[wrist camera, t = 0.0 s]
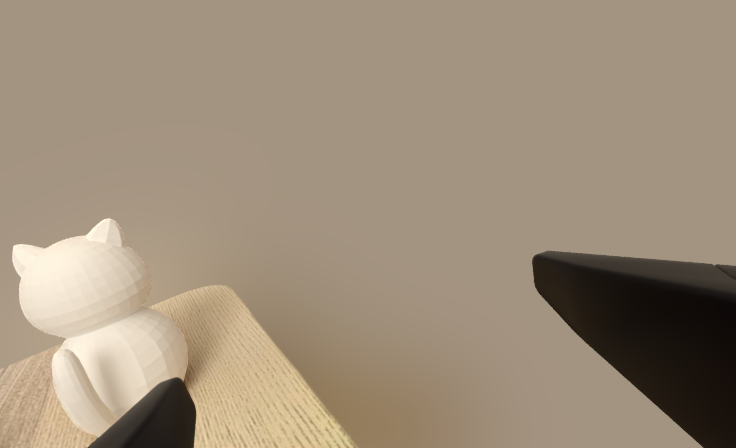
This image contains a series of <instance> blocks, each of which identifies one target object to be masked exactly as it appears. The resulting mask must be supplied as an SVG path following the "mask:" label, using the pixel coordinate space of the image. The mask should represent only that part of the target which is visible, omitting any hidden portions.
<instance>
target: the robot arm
mask: <svg viewBox="0 0 736 448" xmlns="http://www.w3.org/2000/svg"><path fill="white" fill-rule="evenodd" d="M532 265H533V274H534V283H535V287H536V289H537V291H538V292H539V294H540V295H541V296H542V297H543V298H544V299H545V300H546V301H547V302H548V304H549V305H550V306H551V307H552V308H553V309H554V310H555V311H556V312H557V313H558V314H559V315H560V317H561V318H562V319H563V320H564V321H565V322H566V323H567V324H568V325H569V326H570V327H571V328H572V330H573V331H574V332H576V333H577V335H579V337H581V338H582V339H583V340H584V341H585V342H586V343H587V344H588V345H589V346H590V347H592V348H593V349H594V350H595V351H596V352H597V353H598V354H599V355H601V356H602V357H603V358H604V359H605V360H606V361H607V362H608V363H609V364H611V365H612V366H613V367H614V368H615V369H616V370H617V371H618V372H620V373H621V374H622V375H623V376H624V377H625V378H626V379H627V380H628V381H630V382H631V383H632V384H633V385H634V386H635V387H636V388H637V389H638V390H640V391H641V392H642V393H643V394H644V395H645V396H646V397H647V398H649V399H650V400H651V401H652V402H653V403H654V404H655V405H656V406H658V407H659V408H660V409H661V410H662V411H663V412H664V413H665V414H667V415H668V416H669V417H670V418H671V419H672V420H673V421H674V422H675V423H677V424H678V425H679V426H680V427H681V428H682V429H683V430H684V431H686V432H687V433H688V434H689V435H690V436H691V437H692V438H693V439H695V440H696V441H697V442H698V443H699V444H700V445H701V446H702V447H703V448H736V266H729V265H715V266H714V265H712V264H705V263H692V262H679V261H668V260H656V259H643V258H631V257H619V256H607V255H594V254H582V253H570V252H556V251H546V252H543V253H540V254H537V255H535V256H534V257H533V260H532ZM195 424H196V408H195V405H194V402H193V400H192V398H191V396H190V394H189V392H188V390H187V388H186V386H185V384H184V382H183V381H182V379H181V378H179V377H174V378H171V379H168V380H166V381H163V382H160V383H159V384H157V385H156V386H155V387H154V388H153V389H152V390H151V391H150V392H148V393H147V394H146V395H145V396H144V397H143V398H142V399H141V400H140V401H138V402H137V403H136V404H135V405H134V406H133V407H132V408H131V409H130V410H129V411H127V412H126V413H125V414H124V415H123V416H122V417H121V418H120V419H119V420H117V421H116V422H115V423H114V424H113V425H112V426H111V427H110V428H109V429H108V430H106V431H105V432H104V433H103V434H102V435H101V436H100V437H99V438H98V439H96V440H95V441H94V442H93V443H92V444H91V445H90V446H89V447H88V448H194V437H195Z"/></svg>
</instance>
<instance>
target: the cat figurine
mask: <svg viewBox="0 0 736 448" xmlns="http://www.w3.org/2000/svg"><path fill="white" fill-rule="evenodd" d="M12 260H13V264H14V267H15V269H16V272H17V273H18V274H19V275H20V277H21V281H20V285H19V300H20V306H21V309H22V311H23V313H24V316H25V317H26V318H27V320H29V322H30V323H31V324H32V325H33V326H34V327H35V328H37V329H39V330H41V331H43V332H45V333H47V334H51V335H55V336H59V337H64V338H66V340H65V341H64V343H63V344H62V346H61V347H60V349H59V350H58V351H57V352H56V353H55V354H54V357H53V359H52V372H53V377H52V378H53V384H54V390H55V393H56V395H57V397H58V399H59V402H60V404H61V406H62V407H63V409H64V410H65V412H66V414H67V415H68V417H69V418H70V420H71V421H72V422H73V424H75V425H76V426H77V427H78V428H79V429H81V430H82V431H83V432H86V433H89V434H93V435H95V436H96V437H98V438H99V437H100V436H101V435H102V434H103V433H104V432H105V431H106V430H108V429H109V428H110V427H111V426H112V425H113V424H114V423H115V422H116V421H117V420H119V419H120V418H121V417H122V416H123V415H124V414H125V413H126V412H127V411H129V410H130V409H131V408H132V407H133V406H134V405H135V404H136V403H137V402H138V401H140V400H141V399H142V398H143V397H144V396H145V395H146V394H147V393H148V392H150V391H151V390H152V389H153V388H154V387H155V386H156V385H157V384H159V383H160V382H163V381H166V380H168V379H171V378H174V377H179V378H181V379H182V381H183V382H184V378H185V374H186V370H187V366H188V345H187V342H186V340H185V337H184V335H183V333H182V331H181V330H180V329H179V327H178V326H177V325H176V323H174V322H173V321H172V320H171V319H170V318H169V317H167V316H165V315H164V314H162V313H160V312H158V311H156V310H153V309H150V308H147V307H142V306H143V304H144V303H145V301H146V300H147V298H148V295H149V293H150V290H151V275H150V273H149V270H148V268H147V266H146V264H145V263H144V262H143V260H142V259H141V258H140V256H139V255H138V254H137V253H136V252H135V251H134V250H132V249H131V248H130V247H129V246H127V244H126V238H125V236H124V233H123V231H122V229H121V228H120V226H119V225H118V224H117V222H116V221H115V220H113V219H111V218H108V219H104V220H102V221H101V222H100V223H99V224H97V225H96V226H95V227H94V228H93V229H92V230H91V231H90V232H89V233H88V234H87V236H77V237H72V238H68V239H65V240H62V241H60V242H57V243H55V244H53V245H51V246H50V247H48V248H46V249H44V248H41V247H36V246H32V245H25V244H18V245H15V246H14V247H13V252H12Z"/></svg>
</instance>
